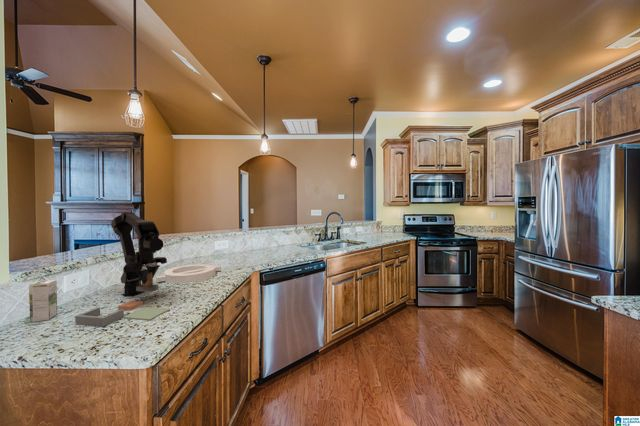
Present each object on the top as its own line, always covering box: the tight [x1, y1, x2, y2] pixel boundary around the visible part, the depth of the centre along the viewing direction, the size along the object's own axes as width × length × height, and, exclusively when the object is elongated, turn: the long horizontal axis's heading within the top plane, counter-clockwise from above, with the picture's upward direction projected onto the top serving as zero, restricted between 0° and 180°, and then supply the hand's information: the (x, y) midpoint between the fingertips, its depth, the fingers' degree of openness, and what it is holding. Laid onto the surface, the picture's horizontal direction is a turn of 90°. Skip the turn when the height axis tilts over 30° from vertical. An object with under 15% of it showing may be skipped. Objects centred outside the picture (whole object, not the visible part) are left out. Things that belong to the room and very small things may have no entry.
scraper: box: [136, 272, 159, 293], centre depth 123 cm, size 4×8×8 cm, turn 79°
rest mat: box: [122, 306, 170, 321], centre depth 107 cm, size 10×12×1 cm
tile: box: [117, 300, 144, 311], centre depth 114 cm, size 6×6×2 cm
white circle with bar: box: [155, 263, 222, 284], centre depth 161 cm, size 28×28×5 cm
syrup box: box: [28, 279, 58, 323], centre depth 104 cm, size 6×6×14 cm
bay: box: [74, 307, 125, 327], centre depth 101 cm, size 8×12×3 cm, turn 79°
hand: (147, 282), depth 123 cm, fingers closed on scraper, 3 cm apart
